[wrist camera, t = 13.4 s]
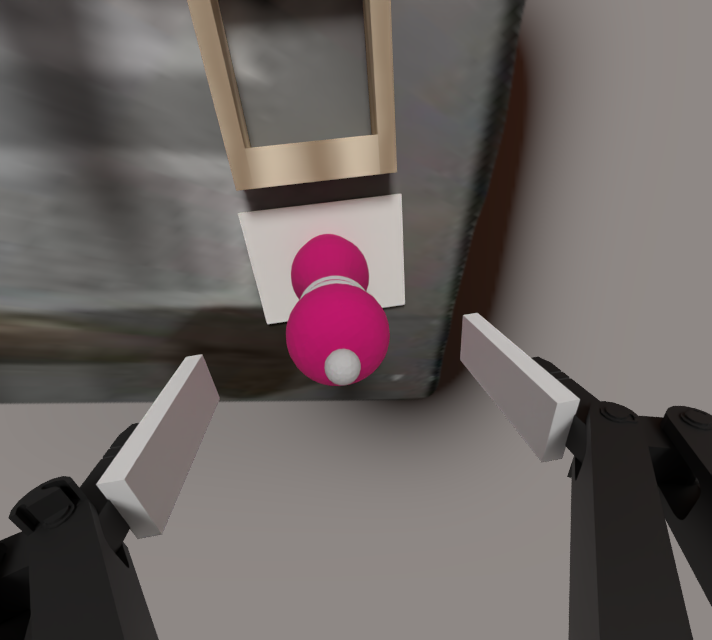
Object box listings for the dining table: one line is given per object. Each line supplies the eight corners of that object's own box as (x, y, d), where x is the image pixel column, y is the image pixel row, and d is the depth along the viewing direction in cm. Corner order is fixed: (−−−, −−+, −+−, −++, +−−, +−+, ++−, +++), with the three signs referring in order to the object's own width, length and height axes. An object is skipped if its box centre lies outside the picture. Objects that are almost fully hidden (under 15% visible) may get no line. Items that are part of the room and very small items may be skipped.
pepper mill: (373, 277, 33) (440, 398, 15) (315, 306, 34) (313, 454, 16) (343, 215, 30) (384, 275, 12) (280, 248, 30) (228, 353, 12)
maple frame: (244, 189, 28) (236, 190, 25) (178, -78, 21) (157, -116, 18) (389, 172, 29) (396, 172, 26) (377, -90, 21) (385, -128, 19)
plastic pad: (267, 322, 34) (267, 324, 34) (239, 212, 29) (238, 213, 28) (403, 302, 35) (404, 304, 35) (400, 193, 30) (401, 193, 29)
